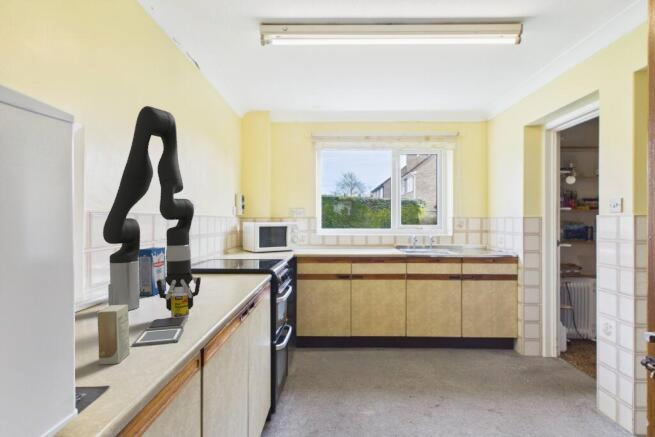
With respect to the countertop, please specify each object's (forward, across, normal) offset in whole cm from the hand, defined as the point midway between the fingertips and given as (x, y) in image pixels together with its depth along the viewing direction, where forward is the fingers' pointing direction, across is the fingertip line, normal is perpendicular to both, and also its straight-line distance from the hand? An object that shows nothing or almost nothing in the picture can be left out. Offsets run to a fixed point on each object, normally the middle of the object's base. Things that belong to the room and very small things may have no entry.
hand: (180, 309), depth 123 cm
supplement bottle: (+3, 0, 0) cm, 3 cm away
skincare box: (+3, +9, +35) cm, 36 cm away
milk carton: (+3, +18, -44) cm, 48 cm away
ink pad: (+3, +2, +10) cm, 11 cm away
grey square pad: (+3, +2, +22) cm, 22 cm away
